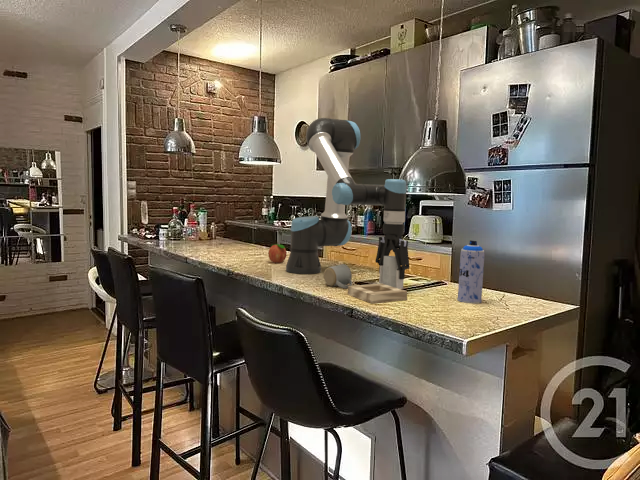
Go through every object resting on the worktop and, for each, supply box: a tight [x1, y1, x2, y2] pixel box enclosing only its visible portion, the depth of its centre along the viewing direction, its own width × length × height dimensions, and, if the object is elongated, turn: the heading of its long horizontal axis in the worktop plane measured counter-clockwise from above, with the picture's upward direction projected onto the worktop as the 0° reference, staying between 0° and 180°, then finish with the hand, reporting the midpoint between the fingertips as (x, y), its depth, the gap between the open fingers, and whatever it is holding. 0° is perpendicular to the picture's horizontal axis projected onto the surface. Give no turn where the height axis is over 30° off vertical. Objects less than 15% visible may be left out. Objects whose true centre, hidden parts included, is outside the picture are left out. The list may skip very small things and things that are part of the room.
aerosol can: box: [456, 240, 485, 305], centre depth 155 cm, size 8×8×20 cm
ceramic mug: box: [323, 263, 353, 290], centre depth 173 cm, size 11×8×8 cm
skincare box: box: [382, 255, 398, 288], centre depth 169 cm, size 6×4×12 cm
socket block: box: [347, 283, 408, 304], centre depth 157 cm, size 14×14×3 cm
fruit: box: [268, 241, 287, 264], centre depth 224 cm, size 9×10×10 cm
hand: (390, 285), depth 170 cm, fingers open, 9 cm apart
